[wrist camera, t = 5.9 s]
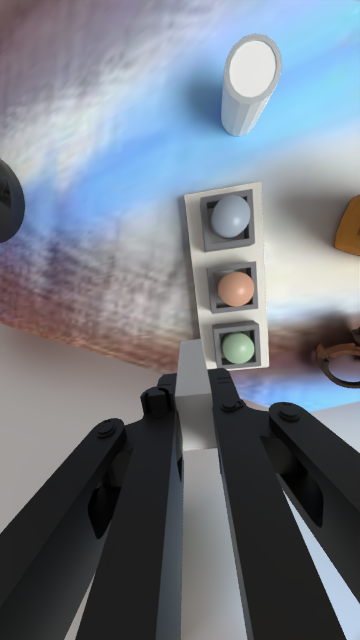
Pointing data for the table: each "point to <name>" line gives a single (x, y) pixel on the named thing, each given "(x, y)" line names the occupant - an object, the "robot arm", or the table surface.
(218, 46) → the table surface
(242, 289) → the terracotta button
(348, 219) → the coffee package
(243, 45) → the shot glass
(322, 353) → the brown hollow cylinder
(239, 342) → the sage button
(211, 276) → the button panel
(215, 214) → the slate button
